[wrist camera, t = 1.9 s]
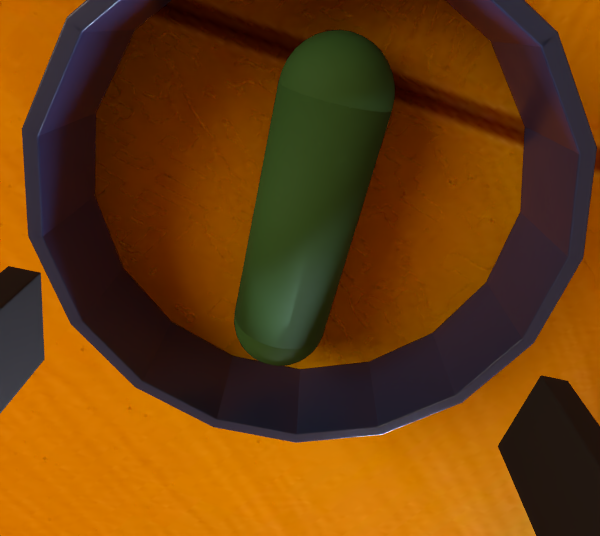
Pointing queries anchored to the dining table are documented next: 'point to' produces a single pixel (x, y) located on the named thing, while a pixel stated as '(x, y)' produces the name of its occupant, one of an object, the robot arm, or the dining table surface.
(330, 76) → the cucumber
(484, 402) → the dining table surface
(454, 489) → the dining table surface
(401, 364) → the ring
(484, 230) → the dining table surface
